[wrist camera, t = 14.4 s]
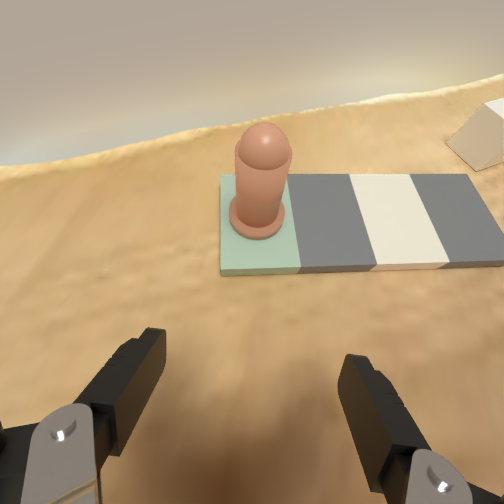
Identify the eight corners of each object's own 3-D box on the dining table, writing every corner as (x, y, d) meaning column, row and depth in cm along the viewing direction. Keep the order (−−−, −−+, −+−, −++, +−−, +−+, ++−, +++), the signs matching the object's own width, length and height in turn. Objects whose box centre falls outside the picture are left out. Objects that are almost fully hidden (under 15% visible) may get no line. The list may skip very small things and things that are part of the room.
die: (473, 134, 30) (515, 93, 26) (505, 161, 28) (556, 122, 24) (445, 143, 29) (484, 102, 25) (476, 171, 27) (524, 132, 23)
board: (455, 183, 26) (466, 173, 25) (501, 266, 22) (519, 259, 21) (221, 185, 24) (220, 174, 23) (221, 276, 20) (220, 269, 19)
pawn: (280, 195, 22) (302, 103, 14) (285, 239, 20) (315, 158, 12) (229, 195, 22) (223, 101, 14) (229, 240, 20) (223, 158, 12)
